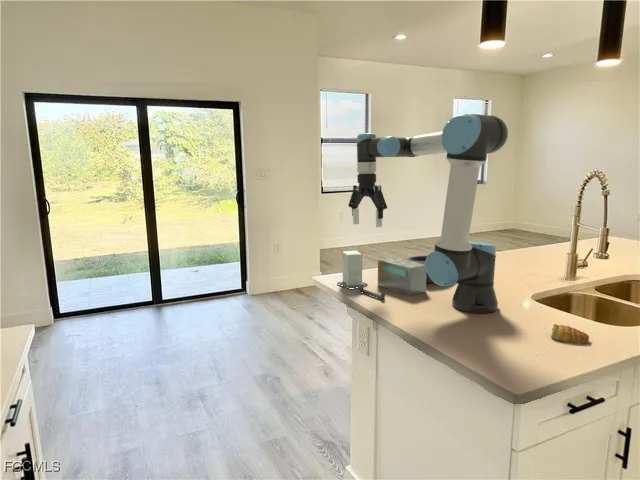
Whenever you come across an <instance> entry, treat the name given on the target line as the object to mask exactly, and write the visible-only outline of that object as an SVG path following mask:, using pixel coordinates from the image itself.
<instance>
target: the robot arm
mask: <svg viewBox="0 0 640 480" xmlns="http://www.w3.org/2000/svg"><path fill="white" fill-rule="evenodd" d="M507 126H508V125H507V124H506V123H505V121H504V120H503V119H501V118H500V117H498V116H496V115H488V114H479V113H478V114H477V113H470V112H469V113H459V114H456V115H455V116H452V117H451V118H450V119H449V120H448V121H446V123H445V125H444V126H443V129H442V131H439V132H434V133H428V134H421V135H415V136H409V137H400V136H399V137H397V136H393V135H391V136H390V135H385V136H381V137H377V135H376V133H373V132H371V133H369V132H368V133H367V132H366V133H359V134H358V135H357V136H356V138H357V139H356V159H357V161H356V166H357V168H356V169H357V170H356V171H357V184H354V185H353V186H352V192H351V193H352V194H351V195H350V196H351V197H350V199H349V202H348V204H347V205H348V207H349V208H351V214H352V224H353V225H359V224H360V209H359V205H360V204H361V202H362V201H363V199H364V197H368V198H370V199H371V202H372V203H373V205H374V207H375V208H376V210H375V228H382V227H383V218H384V211H385V210H386V209H388V205H387V202H386V200H385V197H384V194H383V192H382V191H383V190H382V186H381V185H380V184H377V185H376V182H377V173H376V172H377V158H415V157H419V156H428V155H436V154H437V155H438V154H445V153H446V160H447V161H448V163H449V165H450V166H449V167H450V168H449V173H448V174H449V175H448V183H447V189H446V194H445V195H446V196H445V204H444V212H443V218H442V219H443V220H442V227H441V233H440V234H441V235H440V238H439V239H437V240H436V241H435V243H434V248H433V251H432V252H430V253H429V254H428V255H426V256H427V258H426V261H425V268H426V272H427V274H428V275H429V277H430V279H431V280H432V281H433V282H432V283H434V284H436V285H438V286H439V287H451V286H452V287H453V286H455V285H457V286H456V289H455V292H454V294H453V296H452V301H451V302H452V303H451V306H452V307H454V308H455V309H456V310H459V311H463V312H466V313H470V314H471V313H473V314H491V313H494V312H497V311H498V309H499V308H498V307H499V301H498V298H497V294H496V291H495V287H494V283H495V268H496V267H495V266H496V257H497V254H496V246H494V244H492V243H487V242H480V241H473V240H469V238H470V232H471V226H472V219H473V214H474V207H475V206H474V205H475V201H476V193H477V188H478V180H479V174H480V173H479V172H480V167H481V166H482V165H483V164H485V163H486V162H487V156H488V154H493V153H496V152H498V151H499V150H501V149H502V147H504V145H505V144H506V141H507V140H508V136H509V132H508V130H509V129H508V128H507Z"/></svg>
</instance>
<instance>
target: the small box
mask: <svg viewBox="0 0 640 480" xmlns="http://www.w3.org/2000/svg"><path fill="white" fill-rule="evenodd" d="M342 281H343V282H344V283H345V284H347V285H348V286H353V285H362V282H363V254H362V253H360V252H359V251H358V250H344V251H342Z"/></svg>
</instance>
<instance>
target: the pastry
mask: <svg viewBox="0 0 640 480" xmlns="http://www.w3.org/2000/svg"><path fill="white" fill-rule="evenodd" d="M550 338H552V339H554V340H555V341H558V342H559V341H562V342H565V343H569V344H570V343H572V344H587V343H589V340H590V336H589V335H588V333H586V332H584V331H581V330H579V329H578V328H577V329H576V328H574V327H571V326H569V325H564V324H556V323H554V324H553V325H552V329H551V334H550Z"/></svg>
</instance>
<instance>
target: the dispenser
mask: <svg viewBox="0 0 640 480" xmlns="http://www.w3.org/2000/svg"><path fill="white" fill-rule="evenodd" d="M426 273H427V272H426V268H425V264H421V263H417V262H413V261H409V260H406V259H403V258H399V257H394V256H392V257H386V258H382V259H381V258H380V259H378V260H377V286H378V285H380V286H383V287H386V288H389V289H388V290H390V289H392V290H391V291H393V290H395V291H394V292H396V291H398V292H397V293H399V292H400V294H402V293H404V294H403V295H405V294H406V295H405V296H408V295H409V297H412V296H411V295H413V296H416V295H419V293H420V294H423V293H426V292H427V282H426ZM380 286H379V287H380ZM383 287H382V288H383ZM386 288H385V289H386ZM360 292H363V293H366V294H368V295H371V296H374V297H377V298H379V299H378V300H380V299H381V300H380V301H382V300H384V301H385V300H386V296H385V295H386V291H380V293H377V292H374V291H371V290H368V289H365V288H364V287H363V285H360V288H359V293H360ZM422 292H423V293H422ZM363 293H362V294H363ZM366 294H365V295H366ZM415 294H416V295H415ZM368 295H367V296H368ZM371 296H370V297H371ZM374 297H373V298H374ZM377 298H376V299H377Z"/></svg>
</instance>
